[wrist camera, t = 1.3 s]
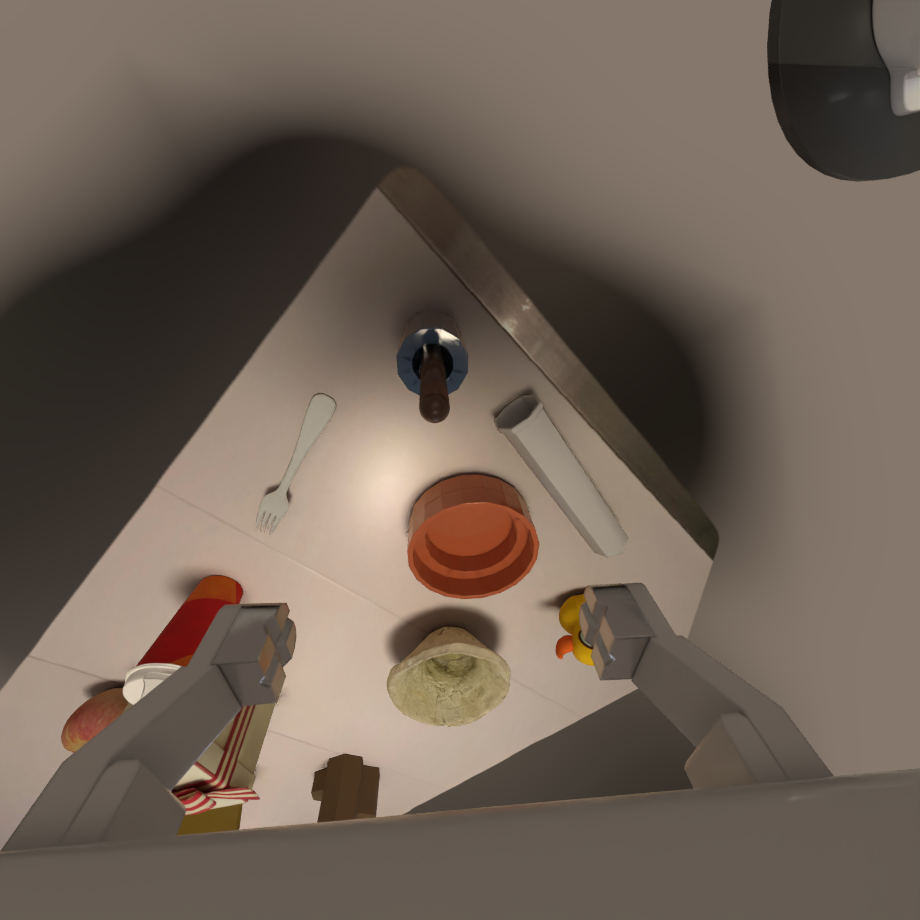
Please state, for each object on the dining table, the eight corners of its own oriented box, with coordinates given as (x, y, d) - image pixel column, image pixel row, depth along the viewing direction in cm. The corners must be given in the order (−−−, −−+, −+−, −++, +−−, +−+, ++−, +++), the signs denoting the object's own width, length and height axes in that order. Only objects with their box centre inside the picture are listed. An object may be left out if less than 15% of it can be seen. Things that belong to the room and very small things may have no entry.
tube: (643, 544, 47) (549, 398, 36) (612, 573, 47) (508, 436, 36) (614, 524, 52) (522, 390, 41) (586, 550, 52) (486, 423, 40)
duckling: (540, 614, 59) (558, 677, 51) (541, 591, 57) (561, 654, 48) (610, 606, 60) (640, 668, 51) (615, 583, 57) (648, 644, 48)
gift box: (214, 718, 68) (154, 852, 53) (144, 663, 58) (48, 808, 44) (301, 698, 67) (265, 830, 52) (244, 639, 57) (181, 779, 42)
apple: (81, 690, 61) (36, 748, 54) (119, 672, 59) (78, 729, 52) (130, 712, 65) (94, 768, 58) (166, 695, 63) (134, 751, 56)
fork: (344, 396, 41) (340, 403, 38) (274, 535, 47) (266, 550, 45) (319, 383, 40) (313, 390, 38) (251, 527, 46) (242, 541, 44)
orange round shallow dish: (532, 469, 45) (546, 499, 40) (521, 560, 53) (531, 595, 48) (405, 474, 44) (403, 505, 39) (413, 566, 52) (412, 602, 47)
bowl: (428, 644, 68) (362, 683, 57) (485, 591, 60) (421, 625, 49) (471, 721, 62) (407, 781, 51) (541, 675, 54) (483, 735, 43)
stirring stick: (440, 332, 35) (450, 398, 21) (441, 351, 36) (450, 427, 22) (421, 332, 35) (418, 399, 21) (422, 351, 36) (419, 428, 22)
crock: (460, 309, 35) (468, 327, 28) (460, 368, 38) (467, 397, 31) (400, 310, 35) (393, 328, 28) (404, 369, 38) (399, 398, 31)
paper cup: (233, 614, 54) (177, 722, 42) (179, 591, 51) (103, 700, 39) (262, 586, 52) (213, 692, 40) (209, 560, 48) (137, 666, 36)
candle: (311, 755, 78) (287, 858, 65) (377, 752, 79) (367, 852, 66) (318, 783, 85) (299, 880, 72) (379, 779, 86) (371, 874, 73)
